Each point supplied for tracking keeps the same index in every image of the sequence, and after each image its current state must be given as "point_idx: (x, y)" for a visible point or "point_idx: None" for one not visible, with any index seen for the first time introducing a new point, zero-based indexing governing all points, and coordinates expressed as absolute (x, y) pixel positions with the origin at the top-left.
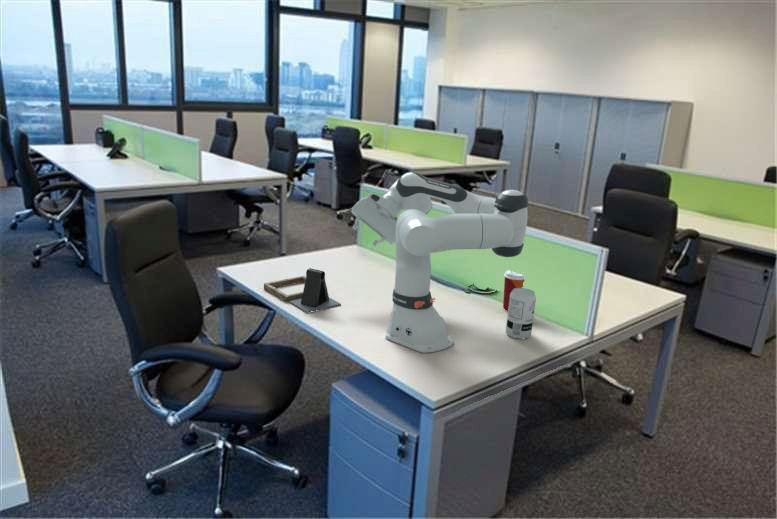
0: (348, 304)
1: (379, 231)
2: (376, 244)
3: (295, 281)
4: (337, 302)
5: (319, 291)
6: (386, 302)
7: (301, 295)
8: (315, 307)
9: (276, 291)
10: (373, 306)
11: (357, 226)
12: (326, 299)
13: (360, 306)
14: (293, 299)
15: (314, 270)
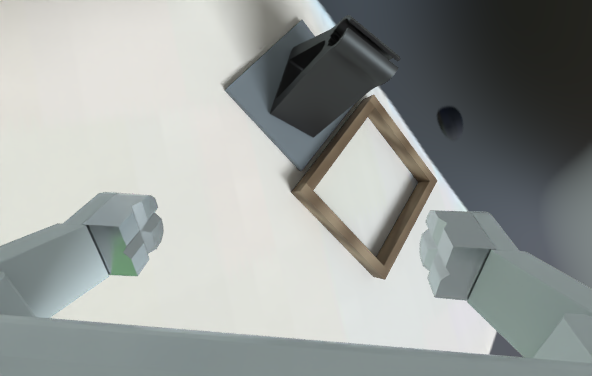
0: (201, 101)
1: (37, 319)
2: (100, 193)
3: (388, 244)
4: (239, 98)
5: (309, 47)
6: (31, 146)
7: (346, 127)
8: (290, 51)
9: (401, 133)
10: (93, 90)
11: (451, 231)
12: (277, 98)
13: (151, 86)
14: (354, 112)
15: (377, 39)
